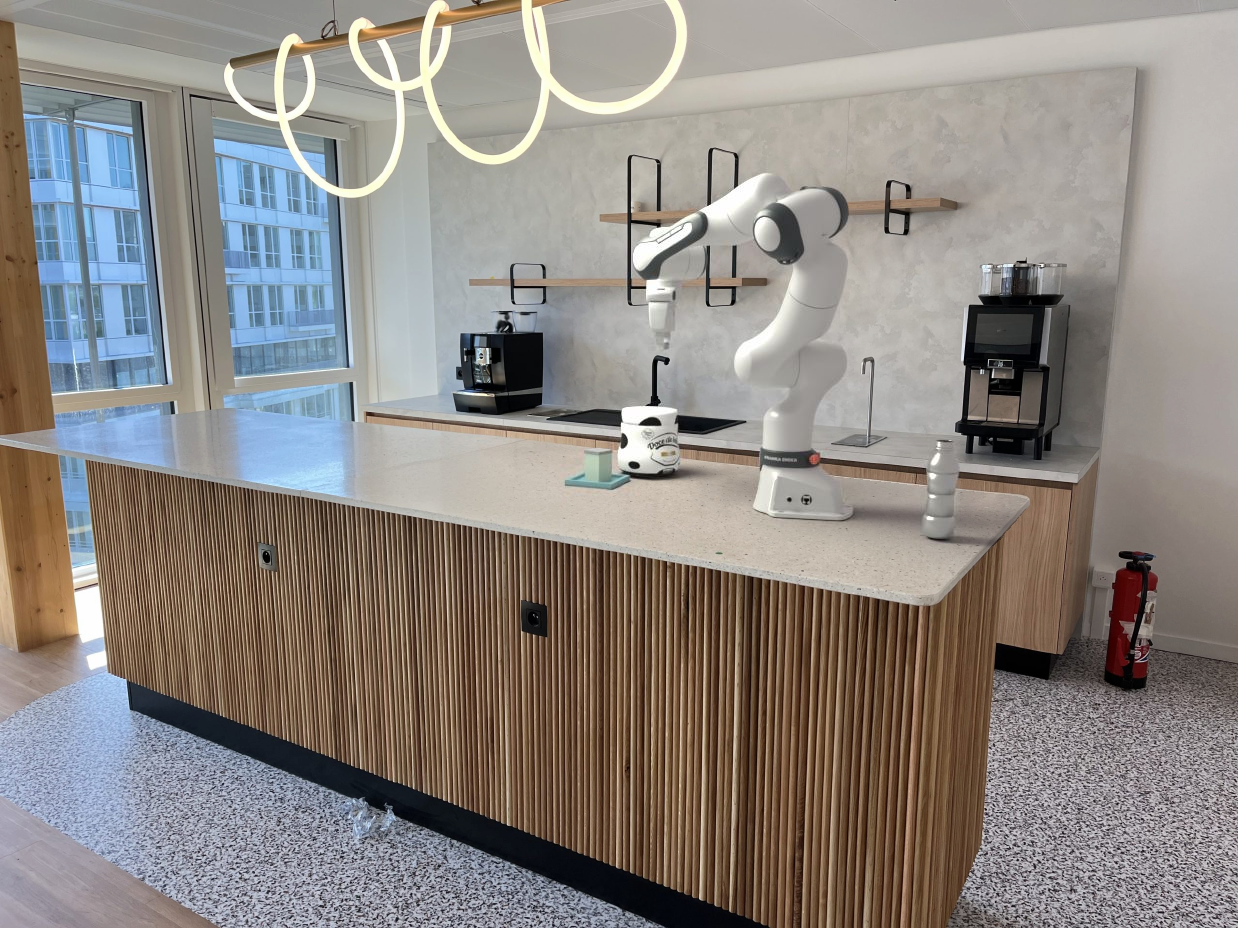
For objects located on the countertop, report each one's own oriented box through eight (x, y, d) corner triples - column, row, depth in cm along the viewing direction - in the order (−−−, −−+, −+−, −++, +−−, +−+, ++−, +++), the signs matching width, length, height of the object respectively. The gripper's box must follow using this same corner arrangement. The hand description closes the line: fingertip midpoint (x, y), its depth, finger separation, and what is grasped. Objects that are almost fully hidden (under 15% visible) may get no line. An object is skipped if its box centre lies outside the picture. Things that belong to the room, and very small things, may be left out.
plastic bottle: (916, 539, 180) (923, 441, 177) (925, 532, 186) (932, 437, 182) (949, 543, 177) (957, 444, 173) (957, 536, 182) (965, 440, 179)
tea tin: (612, 480, 233) (612, 449, 232) (598, 483, 230) (599, 452, 228) (597, 477, 237) (597, 447, 235) (584, 480, 233) (584, 449, 232)
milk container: (673, 482, 236) (674, 414, 232) (610, 478, 240) (610, 411, 237) (685, 470, 252) (687, 407, 249) (626, 467, 256) (627, 404, 253)
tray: (629, 480, 237) (629, 475, 237) (611, 489, 225) (611, 484, 225) (585, 476, 242) (585, 471, 241) (564, 485, 230) (564, 479, 229)
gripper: (657, 295, 233) (656, 348, 236) (645, 293, 214) (644, 351, 216) (681, 295, 232) (680, 348, 235) (671, 293, 212) (670, 352, 215)
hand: (662, 350), depth 225 cm, fingers open, 8 cm apart
